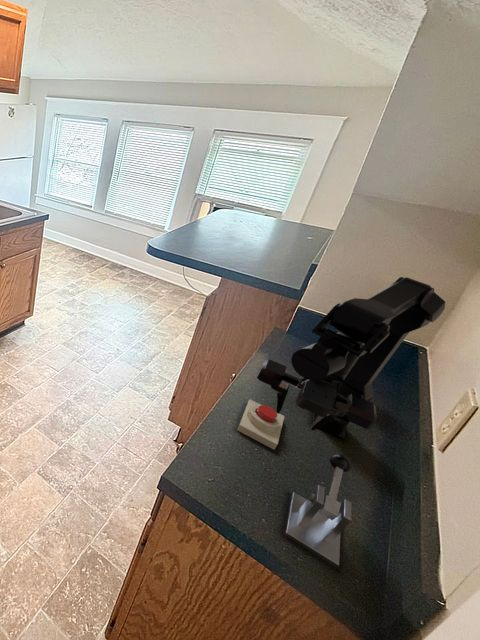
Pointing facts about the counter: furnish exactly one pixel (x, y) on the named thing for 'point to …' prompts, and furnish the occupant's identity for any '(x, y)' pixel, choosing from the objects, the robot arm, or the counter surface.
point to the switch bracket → (317, 525)
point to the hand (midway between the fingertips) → (294, 420)
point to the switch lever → (335, 486)
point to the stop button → (266, 413)
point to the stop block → (260, 426)
